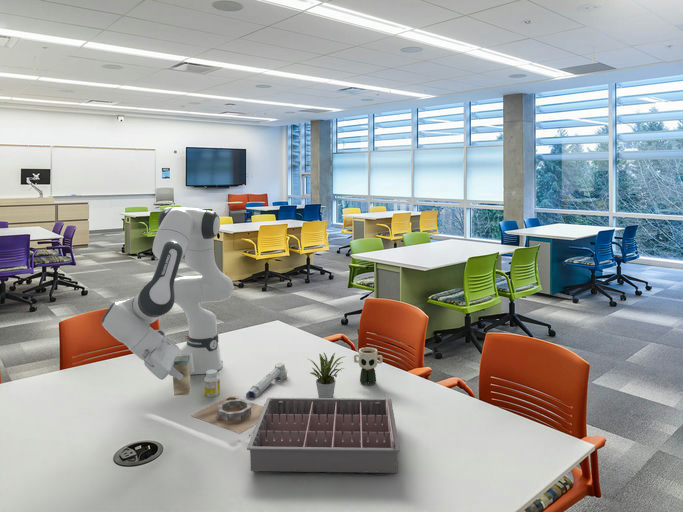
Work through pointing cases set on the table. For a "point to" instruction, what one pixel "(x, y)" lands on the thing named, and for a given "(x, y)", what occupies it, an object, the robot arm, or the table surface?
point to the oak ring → (231, 398)
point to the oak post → (184, 384)
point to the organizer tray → (325, 436)
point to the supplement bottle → (212, 383)
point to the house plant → (326, 376)
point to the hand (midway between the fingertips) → (183, 374)
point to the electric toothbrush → (268, 380)
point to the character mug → (367, 364)
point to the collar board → (230, 424)
